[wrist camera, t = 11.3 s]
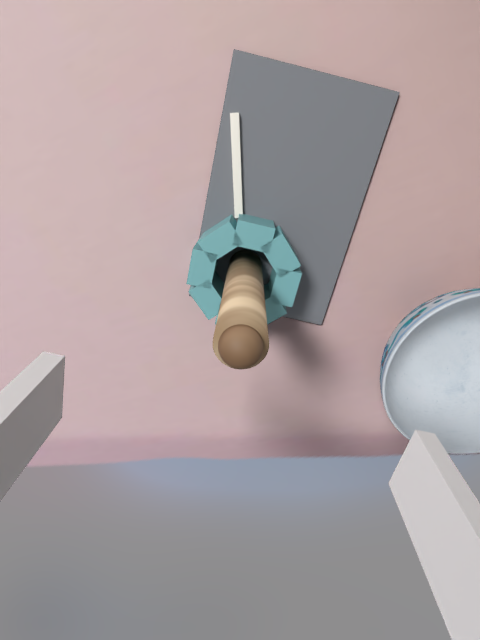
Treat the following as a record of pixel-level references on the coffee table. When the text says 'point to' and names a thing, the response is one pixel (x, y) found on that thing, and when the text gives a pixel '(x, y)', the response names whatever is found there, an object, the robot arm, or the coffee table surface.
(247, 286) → the wooden rod
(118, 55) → the coffee table surface
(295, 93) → the mat
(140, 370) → the coffee table surface
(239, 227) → the bead
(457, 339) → the chinaware
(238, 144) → the white stick
